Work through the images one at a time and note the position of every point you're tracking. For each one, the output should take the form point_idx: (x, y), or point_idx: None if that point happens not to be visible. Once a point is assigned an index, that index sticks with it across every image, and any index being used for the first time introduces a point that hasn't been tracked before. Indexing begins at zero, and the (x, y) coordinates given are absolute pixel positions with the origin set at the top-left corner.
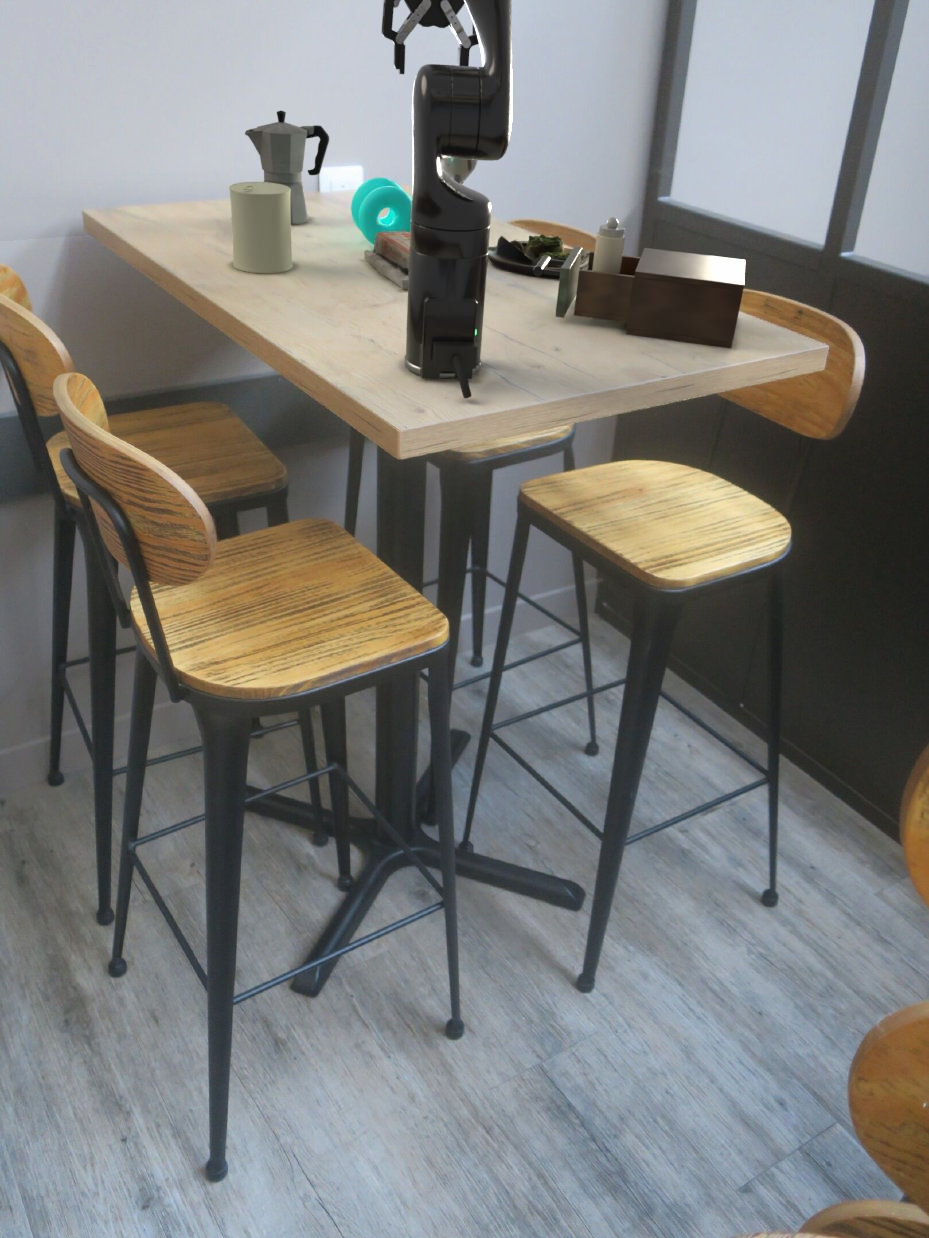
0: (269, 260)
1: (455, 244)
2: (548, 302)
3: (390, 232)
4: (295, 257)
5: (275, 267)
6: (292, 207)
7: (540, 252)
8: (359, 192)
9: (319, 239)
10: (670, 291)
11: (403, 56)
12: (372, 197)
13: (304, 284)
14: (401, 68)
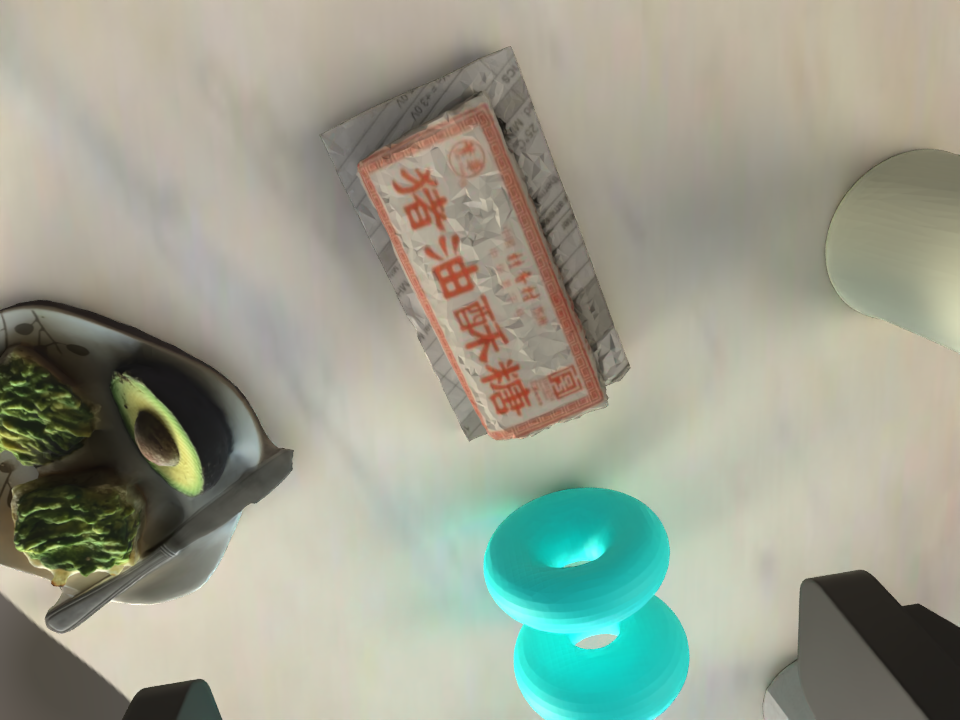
0: (918, 162)
1: None
2: (22, 21)
3: (564, 407)
4: (811, 352)
5: (887, 167)
6: None
7: (92, 477)
8: (676, 659)
9: (739, 545)
10: None
11: (943, 712)
12: (642, 563)
13: (800, 63)
14: (873, 597)
